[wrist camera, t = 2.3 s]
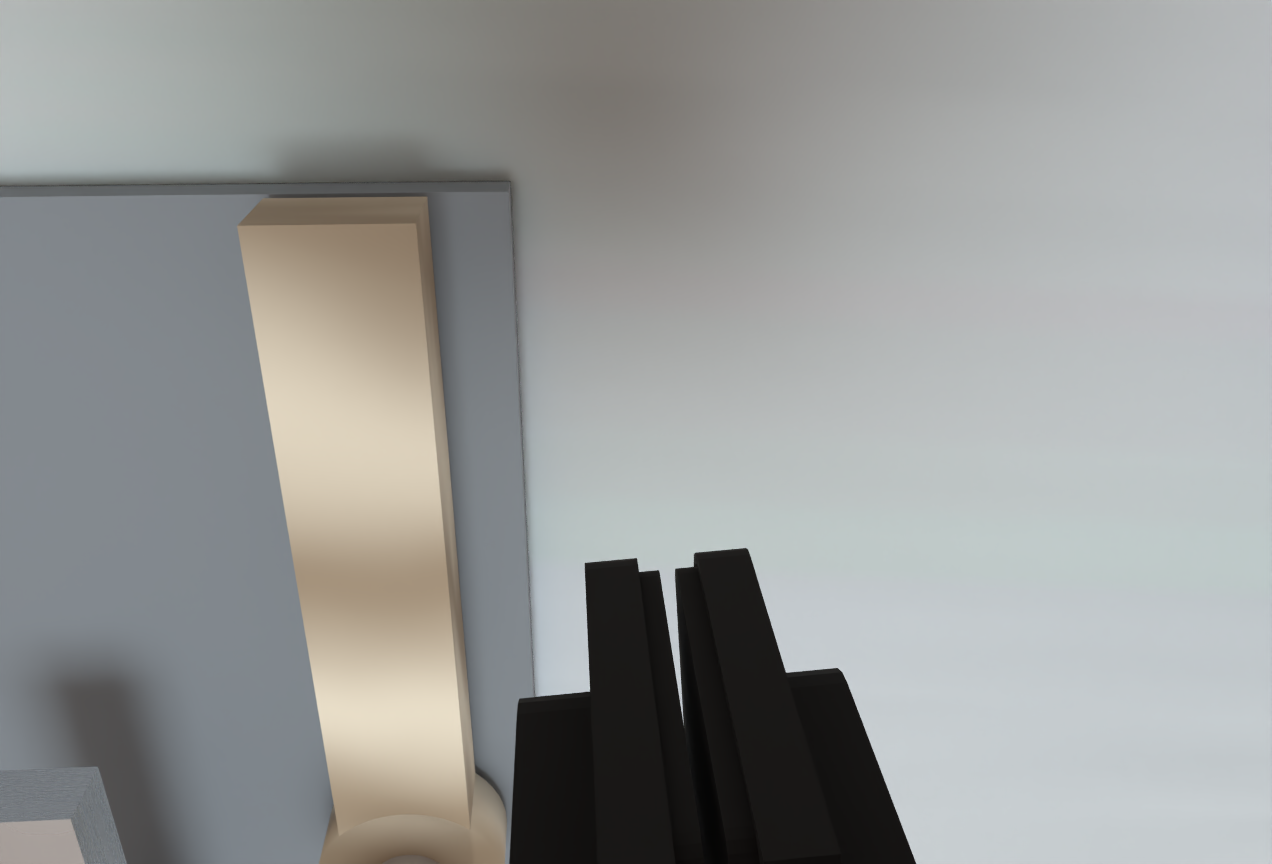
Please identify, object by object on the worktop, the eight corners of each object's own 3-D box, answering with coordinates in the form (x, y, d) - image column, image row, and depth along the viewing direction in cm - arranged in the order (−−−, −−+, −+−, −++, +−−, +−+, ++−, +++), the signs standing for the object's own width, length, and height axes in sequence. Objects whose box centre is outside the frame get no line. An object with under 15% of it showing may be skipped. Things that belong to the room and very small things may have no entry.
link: (510, 879, 28) (500, 1120, 23) (341, 888, 28) (289, 1134, 22) (465, 195, 20) (430, 313, 14) (224, 198, 20) (95, 320, 14)
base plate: (-580, 192, 20) (-623, 204, 19) (510, 181, 21) (508, 191, 20) (-221, 890, 28) (-241, 916, 27) (542, 852, 29) (542, 876, 29)
